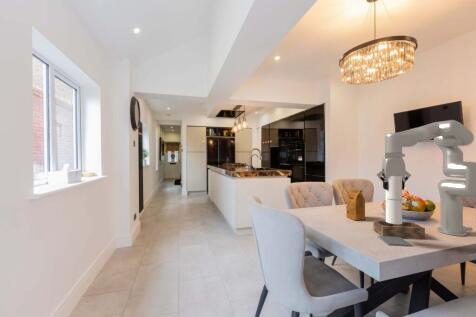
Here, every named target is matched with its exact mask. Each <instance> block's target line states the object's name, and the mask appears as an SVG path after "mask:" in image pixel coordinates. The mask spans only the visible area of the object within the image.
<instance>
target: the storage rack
mask: <svg viewBox="0 0 476 317" xmlns="http://www.w3.org/2000/svg"><path fill="white" fill-rule="evenodd" d="M372 222H373V223H372V227H373V228H372V229H373V231H374V232H375V233H376V234H378V236H392V237H400V238H402V239H418V240H419V239H421V240H425V239H426V227H423V226H421V225H420V224H418V223H417V224H416V223H415V222H414V221H413V222H412V221H402V224H391V223H388V222H386V220H372Z"/></svg>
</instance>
